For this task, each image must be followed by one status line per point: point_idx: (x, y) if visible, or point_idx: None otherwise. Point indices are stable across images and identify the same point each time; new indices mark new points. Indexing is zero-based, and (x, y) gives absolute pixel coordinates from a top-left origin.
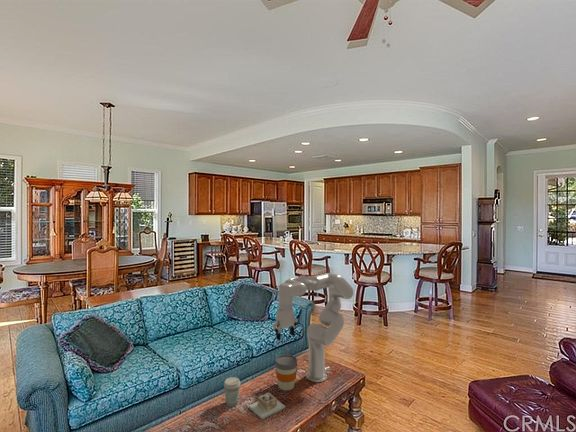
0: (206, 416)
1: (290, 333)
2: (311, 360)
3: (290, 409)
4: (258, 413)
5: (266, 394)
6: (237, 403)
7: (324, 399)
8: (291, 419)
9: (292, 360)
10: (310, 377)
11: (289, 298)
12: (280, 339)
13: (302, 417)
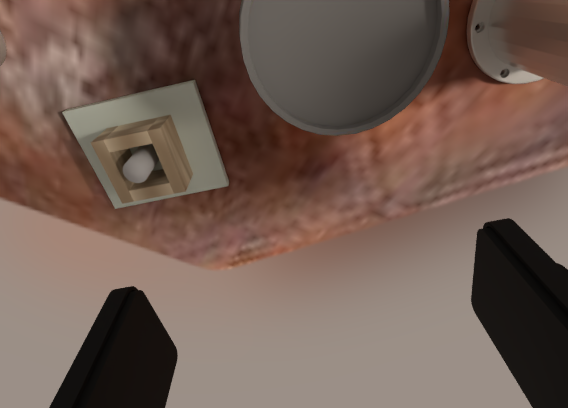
0: None
1: (487, 252)
2: (564, 49)
3: (246, 198)
4: (103, 181)
5: (143, 140)
6: (2, 60)
7: (406, 202)
8: (225, 243)
9: (395, 54)
10: (487, 24)
11: None
12: (169, 369)
13: (267, 249)
